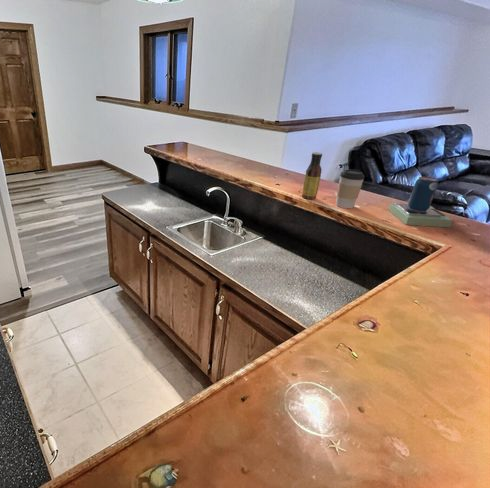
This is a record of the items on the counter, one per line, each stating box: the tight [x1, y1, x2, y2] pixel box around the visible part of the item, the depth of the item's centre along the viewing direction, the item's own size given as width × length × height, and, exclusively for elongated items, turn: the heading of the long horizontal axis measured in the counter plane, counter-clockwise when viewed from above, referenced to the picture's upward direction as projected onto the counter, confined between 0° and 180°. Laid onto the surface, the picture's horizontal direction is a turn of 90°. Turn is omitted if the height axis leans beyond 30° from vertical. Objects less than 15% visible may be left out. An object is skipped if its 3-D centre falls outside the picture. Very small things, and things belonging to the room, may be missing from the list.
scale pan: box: [395, 202, 441, 217], centre depth 134 cm, size 11×11×1 cm
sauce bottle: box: [301, 151, 323, 200], centre depth 152 cm, size 7×6×20 cm
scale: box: [388, 203, 453, 228], centre depth 135 cm, size 15×15×3 cm
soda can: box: [407, 176, 439, 212], centre depth 131 cm, size 7×7×12 cm
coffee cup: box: [335, 168, 365, 209], centre depth 144 cm, size 9×9×15 cm
